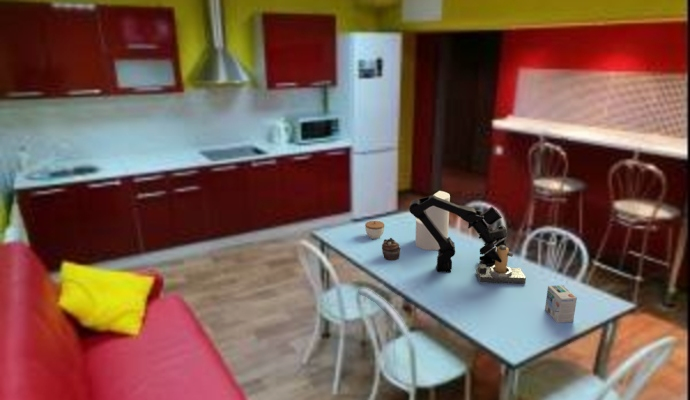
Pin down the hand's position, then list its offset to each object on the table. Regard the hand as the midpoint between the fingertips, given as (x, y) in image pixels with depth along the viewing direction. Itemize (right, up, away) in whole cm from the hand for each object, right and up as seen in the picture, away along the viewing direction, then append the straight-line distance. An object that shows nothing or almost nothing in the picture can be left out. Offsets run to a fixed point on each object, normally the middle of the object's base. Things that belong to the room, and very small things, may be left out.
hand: (504, 258), depth 217 cm
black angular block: (-1, -5, +18) cm, 19 cm away
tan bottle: (-1, -7, +3) cm, 7 cm away
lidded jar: (-56, +6, +54) cm, 78 cm away
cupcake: (-49, -3, +28) cm, 57 cm away
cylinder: (-26, +2, +43) cm, 50 cm away
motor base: (-1, -10, +4) cm, 10 cm away
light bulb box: (+13, -20, -27) cm, 35 cm away
